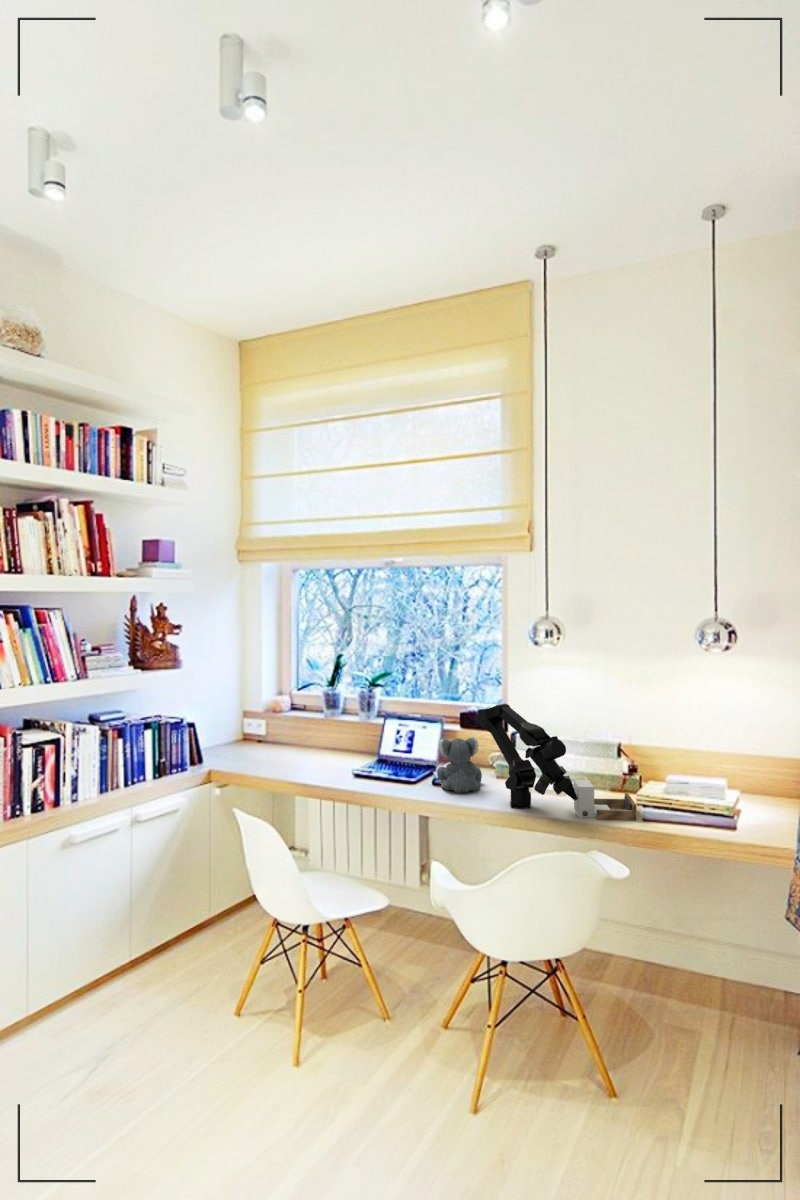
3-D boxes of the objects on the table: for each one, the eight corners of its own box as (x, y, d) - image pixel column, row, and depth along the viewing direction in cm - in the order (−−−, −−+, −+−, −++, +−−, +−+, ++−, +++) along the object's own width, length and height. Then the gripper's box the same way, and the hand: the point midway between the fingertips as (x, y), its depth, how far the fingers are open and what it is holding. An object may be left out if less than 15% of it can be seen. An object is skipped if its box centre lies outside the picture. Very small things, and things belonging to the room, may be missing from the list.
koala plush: (481, 782, 296) (480, 732, 295) (485, 794, 278) (485, 741, 277) (436, 782, 296) (436, 732, 296) (438, 795, 278) (437, 741, 278)
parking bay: (597, 819, 246) (596, 804, 246) (590, 807, 260) (590, 792, 260) (636, 820, 245) (636, 805, 245) (627, 807, 259) (627, 793, 259)
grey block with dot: (579, 817, 249) (578, 787, 249) (573, 808, 259) (573, 779, 259) (613, 817, 248) (612, 787, 248) (606, 808, 258) (606, 779, 258)
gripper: (525, 771, 263) (554, 806, 262) (529, 784, 244) (560, 822, 243) (550, 751, 262) (579, 786, 261) (556, 763, 243) (587, 801, 242)
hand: (576, 799), depth 252 cm, fingers closed
